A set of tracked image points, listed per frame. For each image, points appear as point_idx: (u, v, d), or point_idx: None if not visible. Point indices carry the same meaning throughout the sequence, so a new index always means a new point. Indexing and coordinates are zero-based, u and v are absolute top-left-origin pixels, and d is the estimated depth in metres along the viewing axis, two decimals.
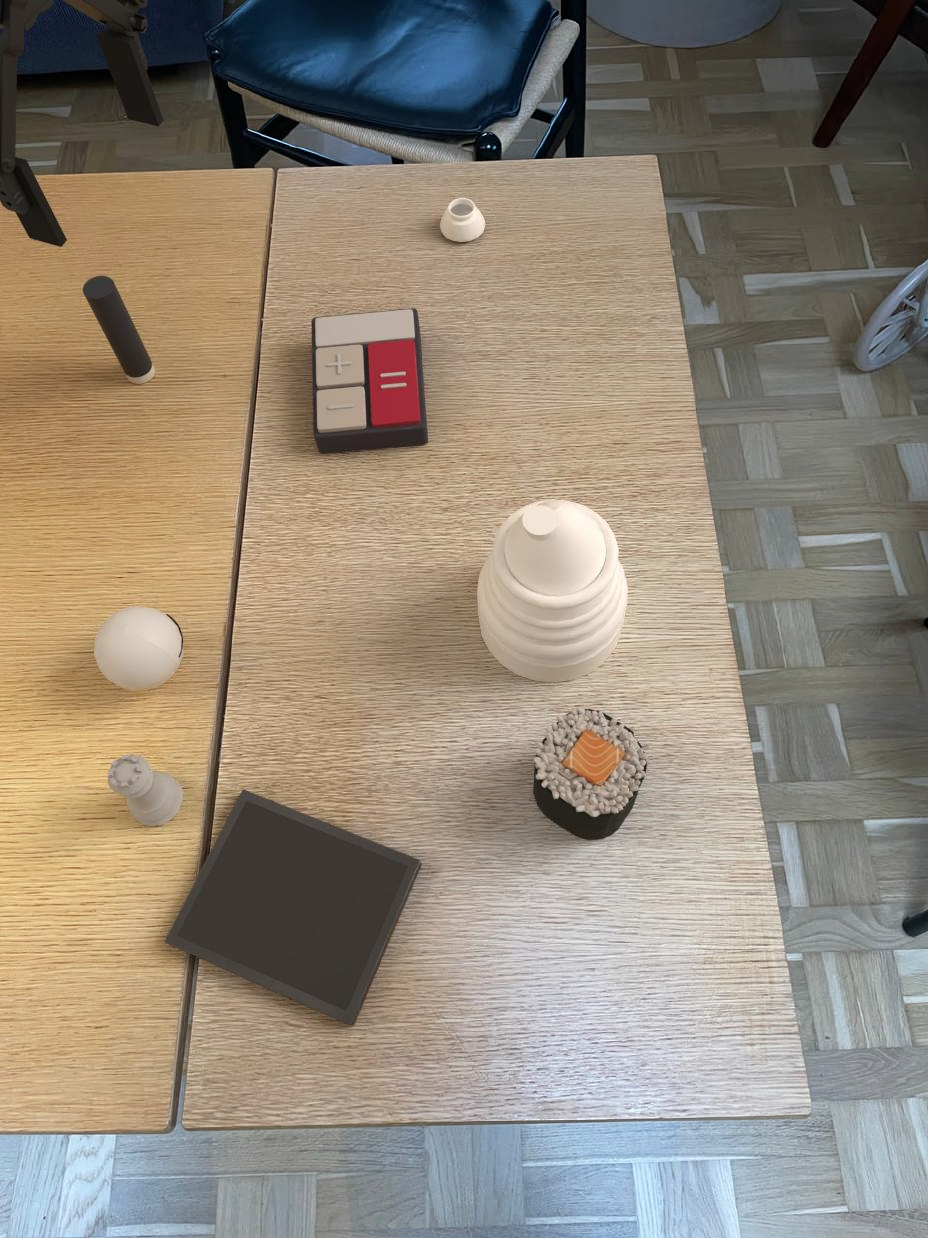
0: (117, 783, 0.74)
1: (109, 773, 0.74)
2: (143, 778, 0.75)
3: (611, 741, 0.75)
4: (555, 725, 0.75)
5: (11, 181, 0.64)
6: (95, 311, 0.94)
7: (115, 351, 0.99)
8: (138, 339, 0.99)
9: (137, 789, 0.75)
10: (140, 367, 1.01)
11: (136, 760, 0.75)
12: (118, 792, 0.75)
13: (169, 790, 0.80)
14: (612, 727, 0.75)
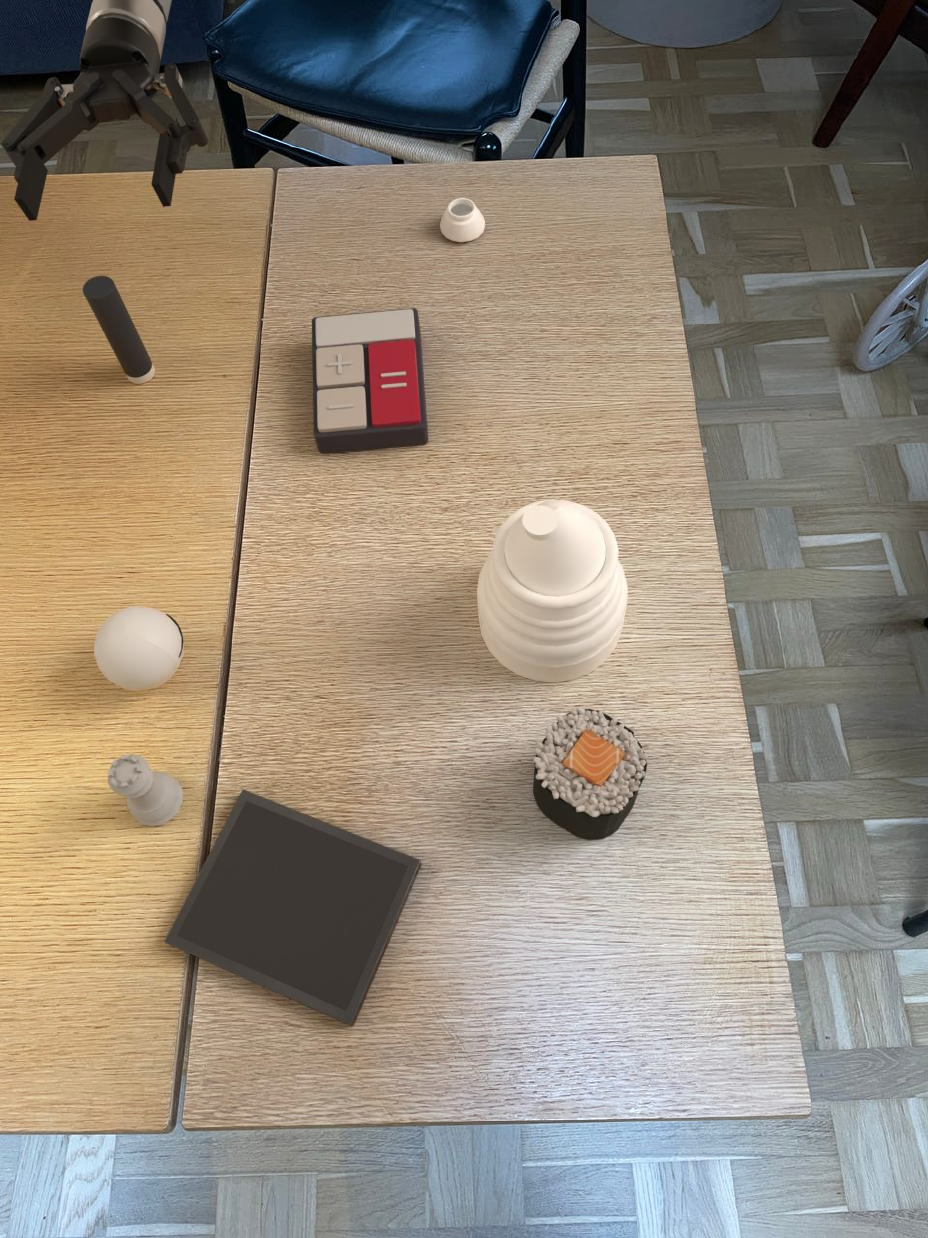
0: (117, 783, 0.74)
1: (109, 773, 0.74)
2: (143, 778, 0.75)
3: (611, 741, 0.75)
4: (555, 725, 0.75)
5: None
6: (95, 311, 0.94)
7: (115, 351, 0.99)
8: (138, 339, 0.99)
9: (137, 789, 0.75)
10: (140, 367, 1.01)
11: (136, 760, 0.75)
12: (118, 792, 0.75)
13: (169, 790, 0.80)
14: (612, 727, 0.75)
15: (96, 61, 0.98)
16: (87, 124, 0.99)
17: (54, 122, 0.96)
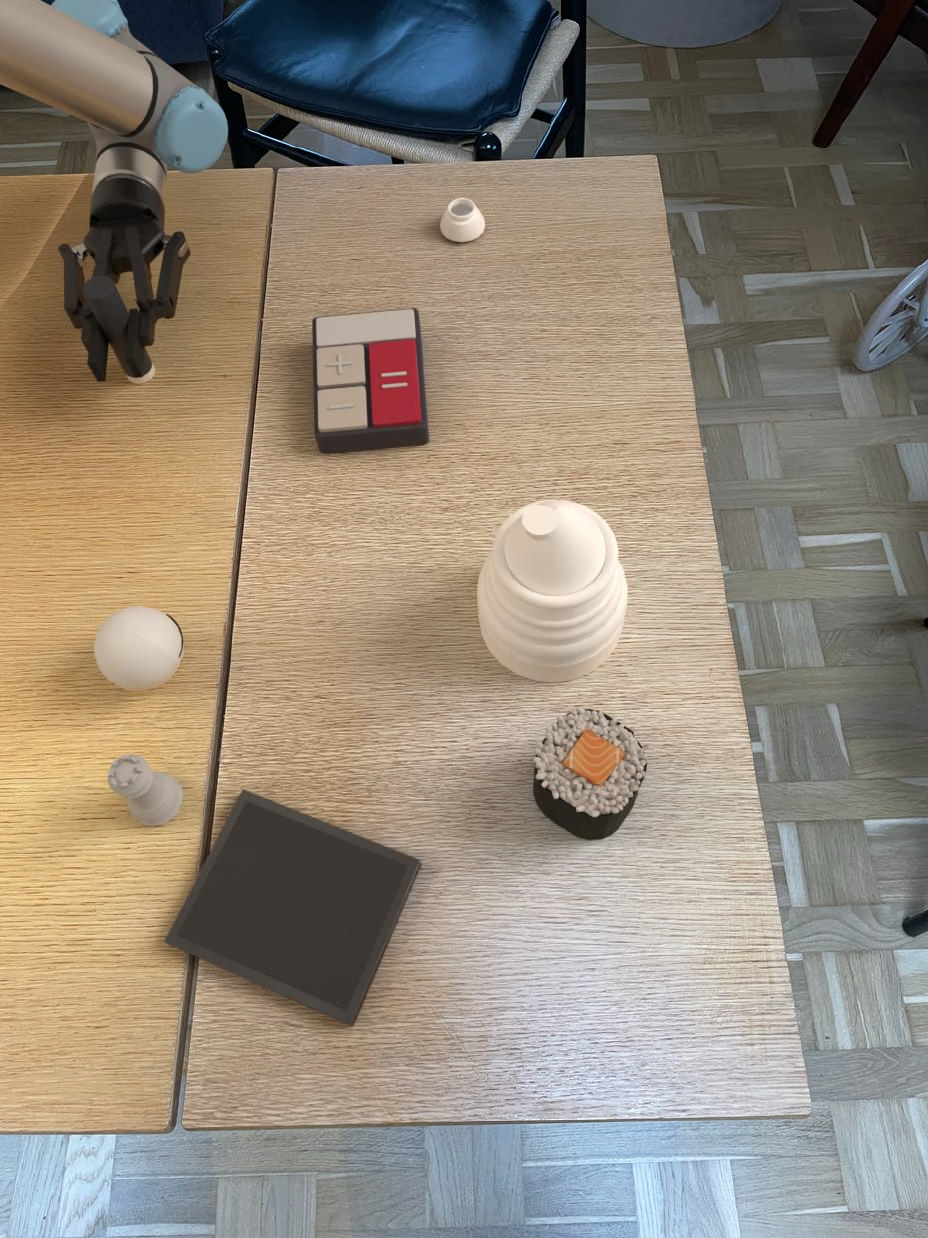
0: (117, 783, 0.74)
1: (109, 773, 0.74)
2: (143, 778, 0.75)
3: (611, 741, 0.75)
4: (555, 725, 0.75)
5: None
6: (95, 311, 0.94)
7: (115, 351, 0.99)
8: None
9: (137, 789, 0.75)
10: None
11: (136, 760, 0.75)
12: (118, 792, 0.75)
13: (169, 790, 0.80)
14: (612, 727, 0.75)
15: (106, 218, 1.02)
16: (116, 277, 1.02)
17: None
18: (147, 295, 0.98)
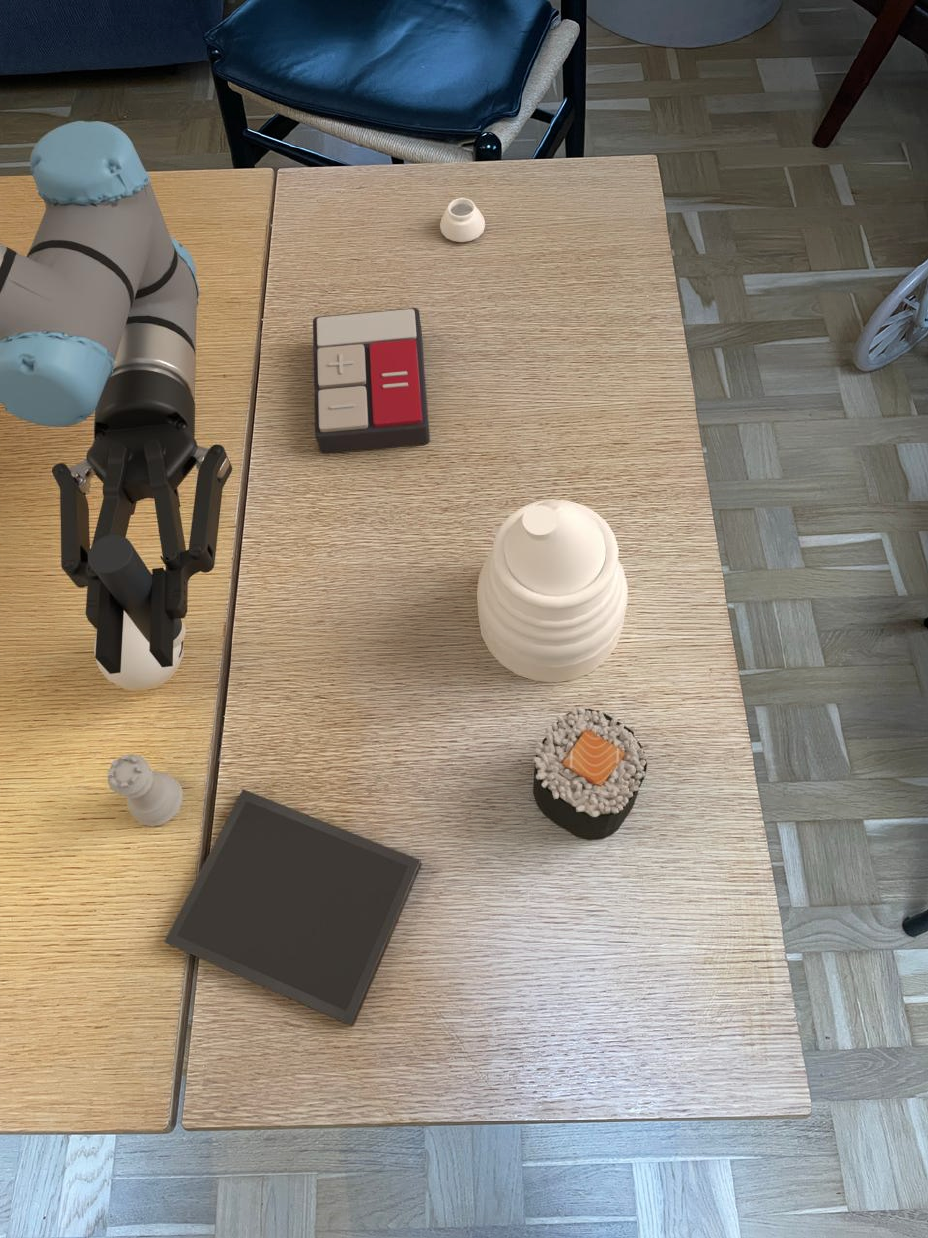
0: (117, 783, 0.74)
1: (109, 773, 0.74)
2: (143, 778, 0.75)
3: (611, 741, 0.75)
4: (555, 725, 0.75)
5: None
6: (106, 584, 0.66)
7: (133, 620, 0.71)
8: None
9: (137, 789, 0.75)
10: None
11: (136, 760, 0.75)
12: (118, 792, 0.75)
13: (169, 790, 0.80)
14: (612, 727, 0.75)
15: (118, 425, 0.75)
16: (131, 507, 0.75)
17: (110, 522, 0.72)
18: (177, 546, 0.70)
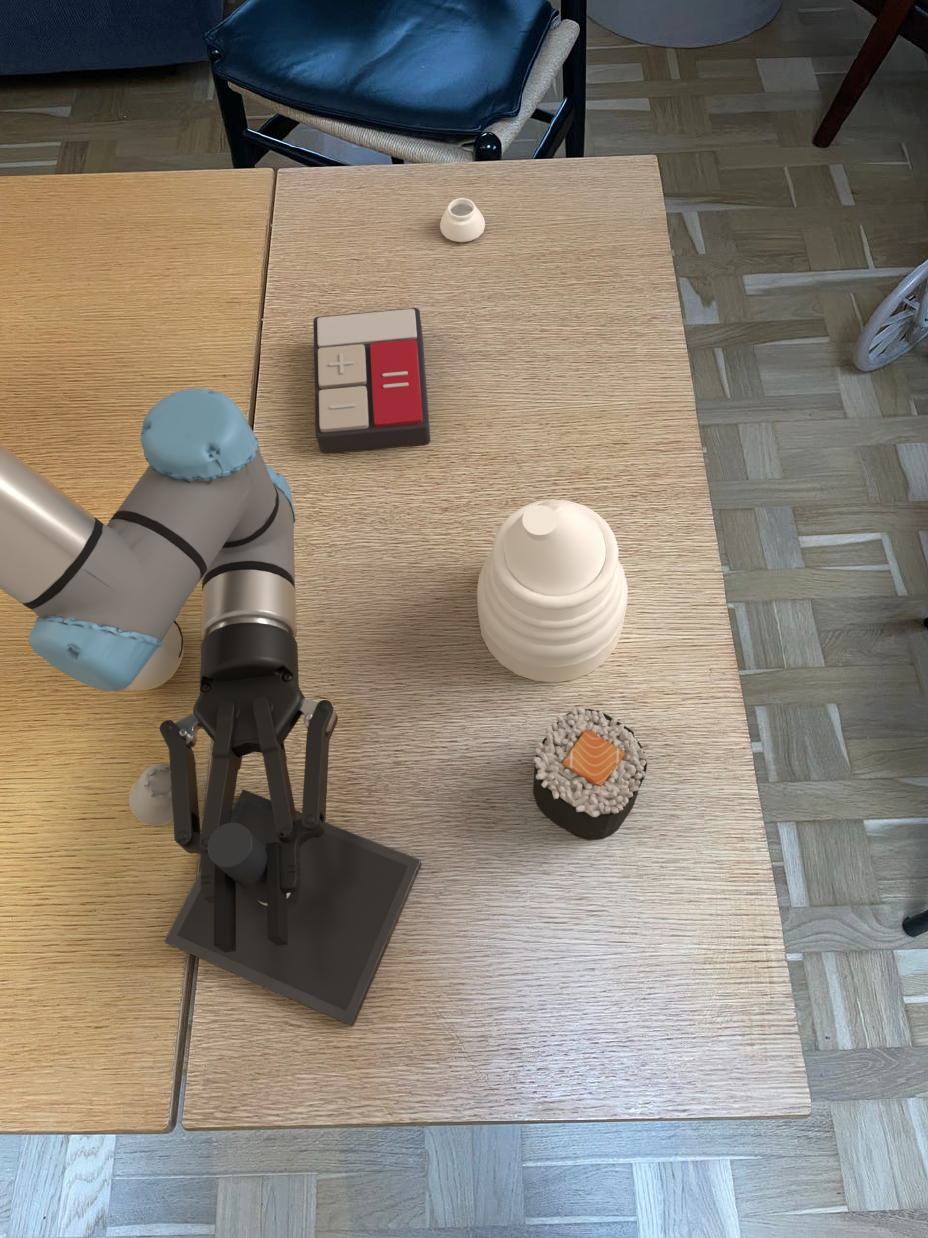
0: (152, 794, 0.73)
1: (146, 782, 0.73)
2: None
3: (611, 741, 0.75)
4: (555, 725, 0.75)
5: None
6: (224, 871, 0.66)
7: None
8: None
9: (169, 802, 0.74)
10: None
11: None
12: (149, 801, 0.74)
13: None
14: (612, 727, 0.75)
15: (224, 679, 0.75)
16: (238, 763, 0.74)
17: (221, 789, 0.71)
18: (289, 817, 0.70)
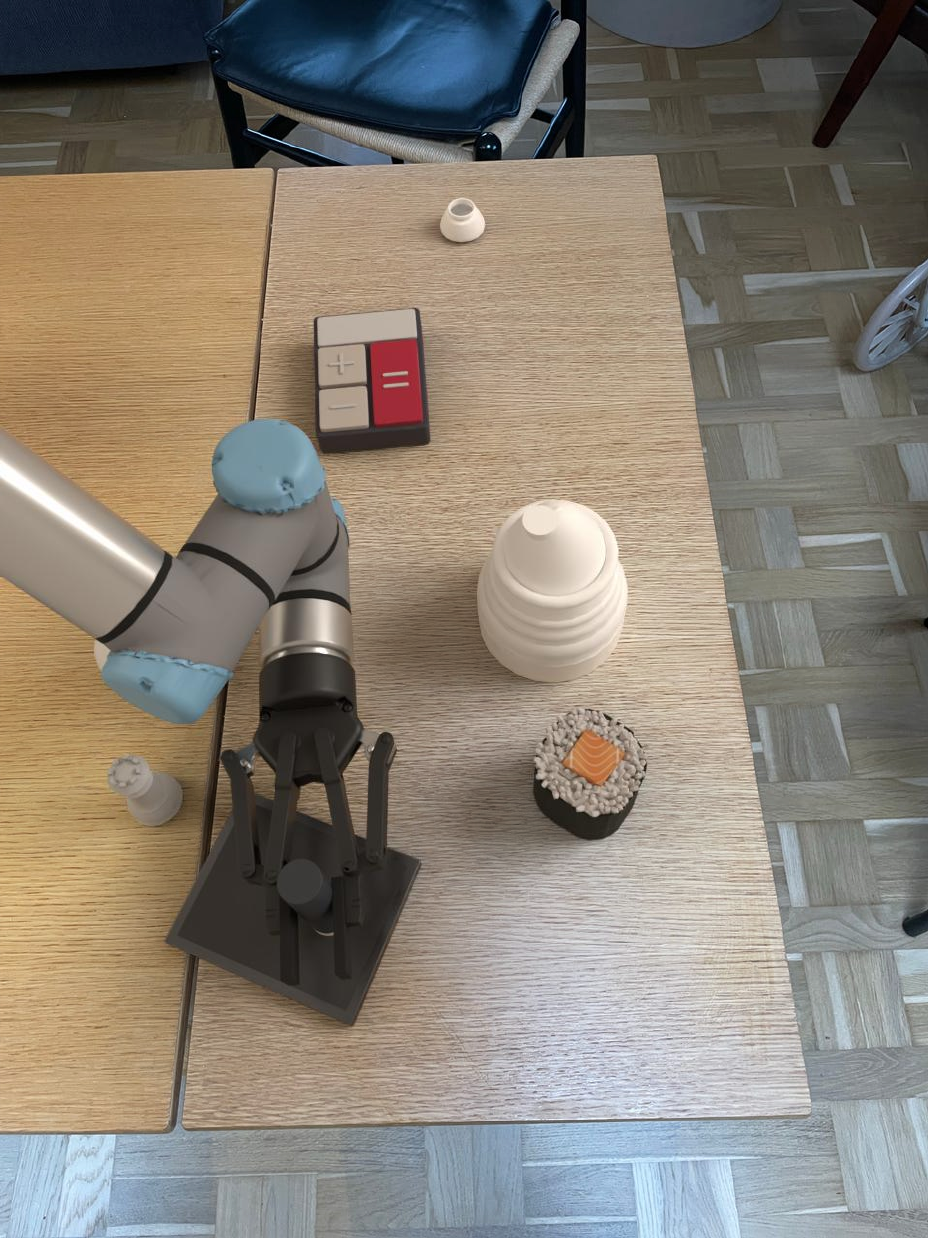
0: (115, 783, 0.74)
1: (109, 771, 0.75)
2: (142, 780, 0.75)
3: (611, 741, 0.75)
4: (555, 725, 0.75)
5: None
6: (292, 907, 0.66)
7: (306, 921, 0.71)
8: None
9: (135, 790, 0.75)
10: None
11: (137, 761, 0.75)
12: (116, 791, 0.75)
13: (168, 792, 0.80)
14: (612, 727, 0.75)
15: (285, 709, 0.75)
16: (298, 793, 0.74)
17: (284, 821, 0.71)
18: (353, 850, 0.70)
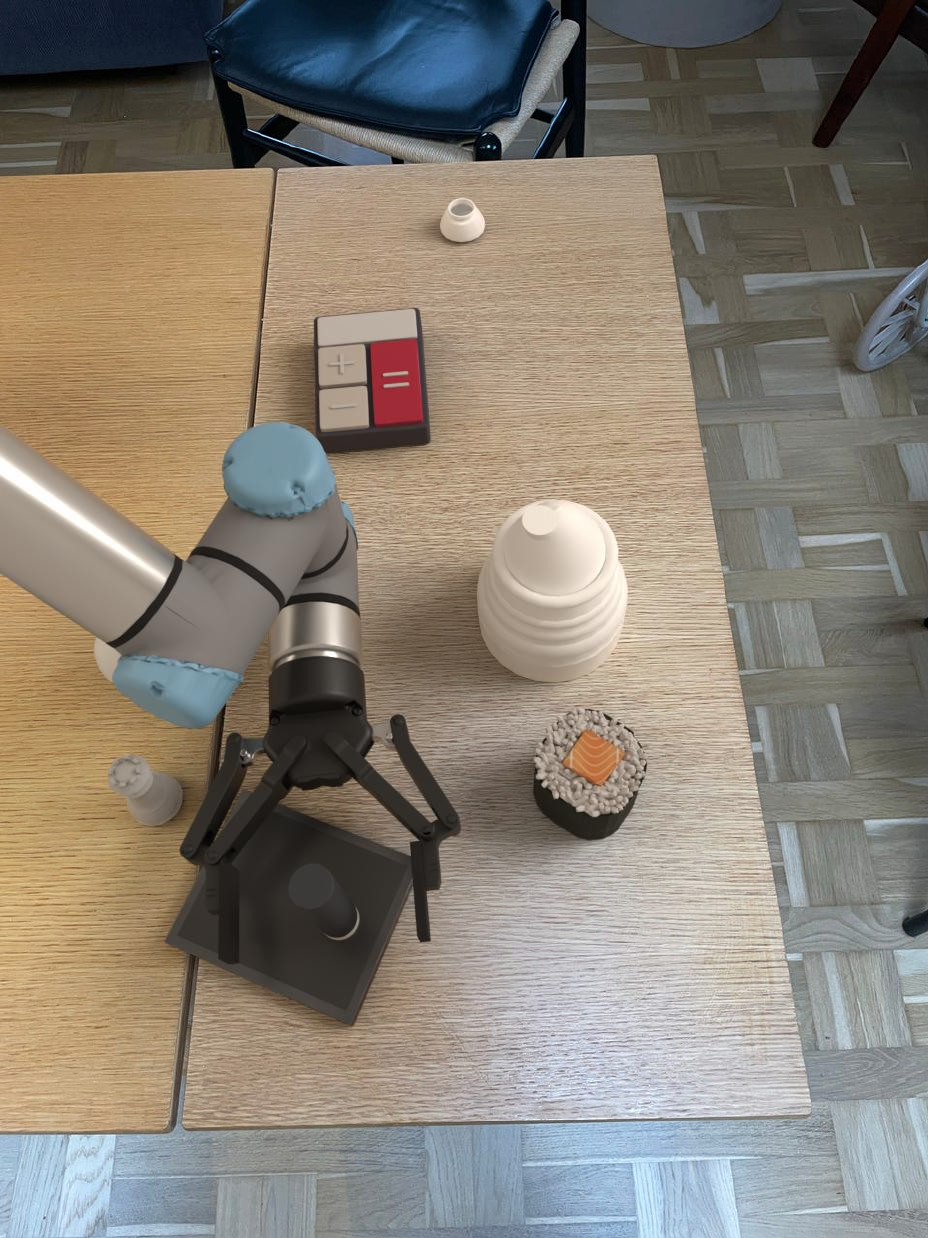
0: (115, 782, 0.74)
1: (109, 771, 0.75)
2: (142, 780, 0.75)
3: (611, 741, 0.75)
4: (555, 725, 0.75)
5: None
6: (303, 911, 0.66)
7: None
8: (349, 908, 0.71)
9: (135, 790, 0.75)
10: (346, 931, 0.73)
11: (137, 761, 0.75)
12: (116, 791, 0.75)
13: (168, 792, 0.80)
14: (612, 727, 0.75)
15: (294, 712, 0.74)
16: (284, 794, 0.74)
17: (251, 814, 0.71)
18: (422, 816, 0.71)
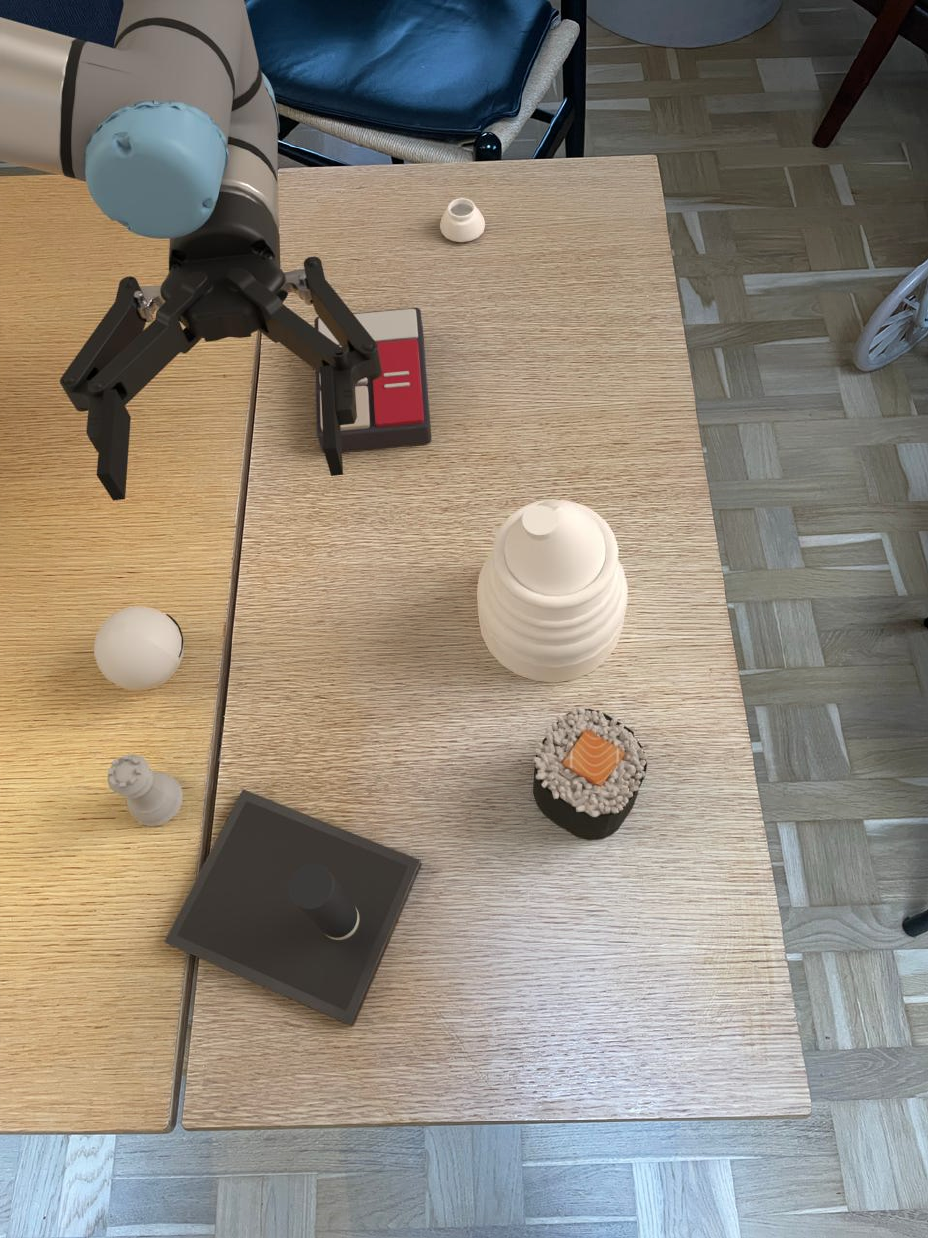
0: (115, 783, 0.74)
1: (109, 772, 0.75)
2: (142, 780, 0.75)
3: (611, 741, 0.75)
4: (555, 725, 0.75)
5: None
6: (303, 911, 0.66)
7: None
8: (349, 908, 0.71)
9: (135, 790, 0.75)
10: (346, 931, 0.73)
11: (137, 761, 0.75)
12: (116, 791, 0.75)
13: (168, 792, 0.80)
14: (612, 727, 0.75)
15: (196, 254, 0.66)
16: (184, 344, 0.66)
17: (142, 347, 0.63)
18: (335, 345, 0.62)
